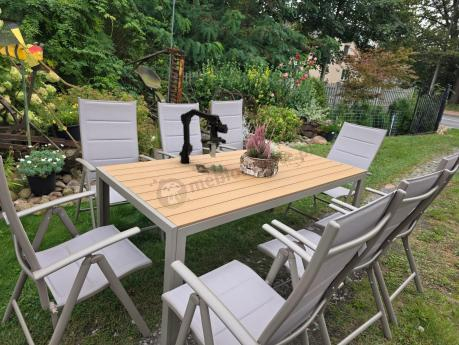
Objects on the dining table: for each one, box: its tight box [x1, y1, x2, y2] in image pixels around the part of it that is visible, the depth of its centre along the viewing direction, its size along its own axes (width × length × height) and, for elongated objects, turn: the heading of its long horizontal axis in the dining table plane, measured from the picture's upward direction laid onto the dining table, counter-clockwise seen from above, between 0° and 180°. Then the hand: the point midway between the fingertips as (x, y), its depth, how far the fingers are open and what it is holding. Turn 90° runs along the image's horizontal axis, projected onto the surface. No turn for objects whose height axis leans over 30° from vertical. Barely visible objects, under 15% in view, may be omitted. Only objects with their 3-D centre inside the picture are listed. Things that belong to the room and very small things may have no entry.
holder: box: [210, 163, 225, 171], centre depth 232 cm, size 8×9×3 cm
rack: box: [195, 164, 207, 171], centre depth 228 cm, size 6×11×2 cm, turn 18°
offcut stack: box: [197, 168, 210, 174], centre depth 220 cm, size 8×3×2 cm, turn 100°
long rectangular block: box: [209, 143, 217, 158], centre depth 226 cm, size 3×6×9 cm, turn 17°
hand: (212, 152), depth 226 cm, fingers closed on long rectangular block, 3 cm apart
